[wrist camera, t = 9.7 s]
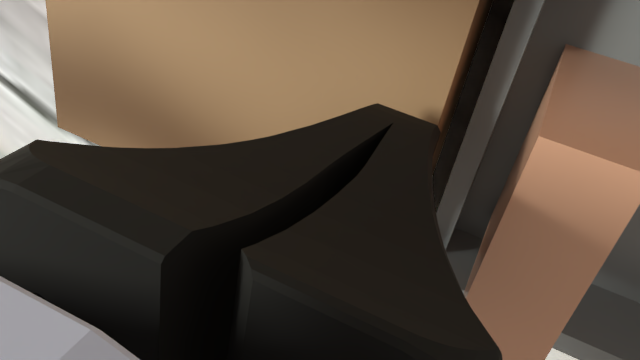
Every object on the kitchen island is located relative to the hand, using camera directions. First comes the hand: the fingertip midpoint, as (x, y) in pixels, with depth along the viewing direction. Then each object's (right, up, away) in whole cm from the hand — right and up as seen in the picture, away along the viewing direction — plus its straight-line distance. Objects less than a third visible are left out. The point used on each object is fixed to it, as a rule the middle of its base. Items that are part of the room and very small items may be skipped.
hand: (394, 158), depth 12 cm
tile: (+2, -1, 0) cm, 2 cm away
